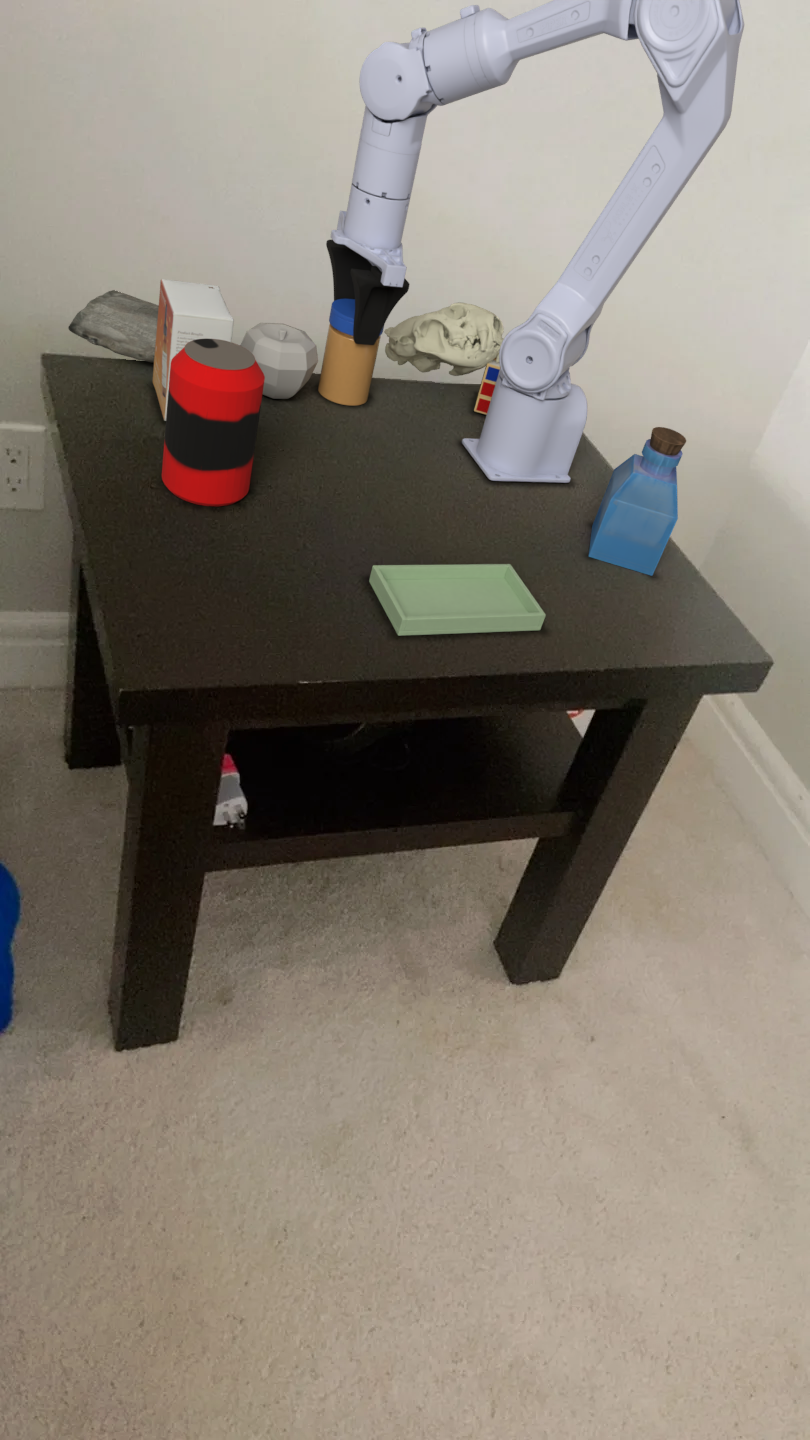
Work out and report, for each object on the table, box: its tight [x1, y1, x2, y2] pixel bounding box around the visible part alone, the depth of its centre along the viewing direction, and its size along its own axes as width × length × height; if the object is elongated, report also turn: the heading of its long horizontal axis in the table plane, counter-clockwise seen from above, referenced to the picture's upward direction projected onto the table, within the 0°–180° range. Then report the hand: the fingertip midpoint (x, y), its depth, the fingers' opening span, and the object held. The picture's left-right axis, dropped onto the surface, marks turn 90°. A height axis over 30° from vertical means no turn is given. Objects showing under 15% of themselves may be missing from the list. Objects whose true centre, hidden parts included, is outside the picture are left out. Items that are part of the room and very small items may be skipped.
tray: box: [368, 563, 547, 637], centre depth 86 cm, size 13×7×2 cm, turn 110°
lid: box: [328, 299, 385, 336], centre depth 107 cm, size 6×6×2 cm
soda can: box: [161, 339, 265, 508], centre depth 88 cm, size 8×8×12 cm
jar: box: [317, 323, 382, 407], centre depth 110 cm, size 5×5×8 cm
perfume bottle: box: [588, 426, 687, 577], centre depth 96 cm, size 6×6×12 cm
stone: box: [67, 289, 159, 364], centre depth 109 cm, size 11×4×15 cm
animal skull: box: [383, 301, 505, 377], centre depth 116 cm, size 15×9×8 cm
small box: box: [152, 278, 235, 422], centre depth 99 cm, size 8×6×10 cm
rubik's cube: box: [473, 358, 500, 416], centre depth 117 cm, size 6×6×6 cm
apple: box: [239, 322, 319, 400], centre depth 107 cm, size 8×8×7 cm
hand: (354, 329), depth 108 cm, fingers open, 6 cm apart
